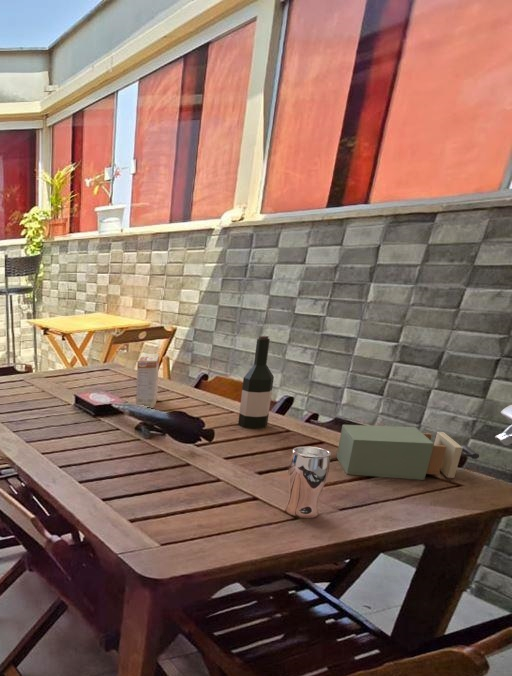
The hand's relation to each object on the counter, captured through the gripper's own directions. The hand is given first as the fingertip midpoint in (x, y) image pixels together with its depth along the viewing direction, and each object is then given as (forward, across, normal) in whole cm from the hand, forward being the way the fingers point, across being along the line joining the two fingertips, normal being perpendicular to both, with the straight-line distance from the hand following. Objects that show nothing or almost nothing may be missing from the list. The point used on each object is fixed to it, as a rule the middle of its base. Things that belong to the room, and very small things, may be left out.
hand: (499, 441), depth 115 cm
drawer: (+14, 0, -3) cm, 15 cm away
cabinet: (+21, 0, -8) cm, 22 cm away
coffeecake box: (+64, -57, -49) cm, 99 cm away
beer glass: (+35, +32, -22) cm, 52 cm away
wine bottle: (+39, -33, -25) cm, 57 cm away
